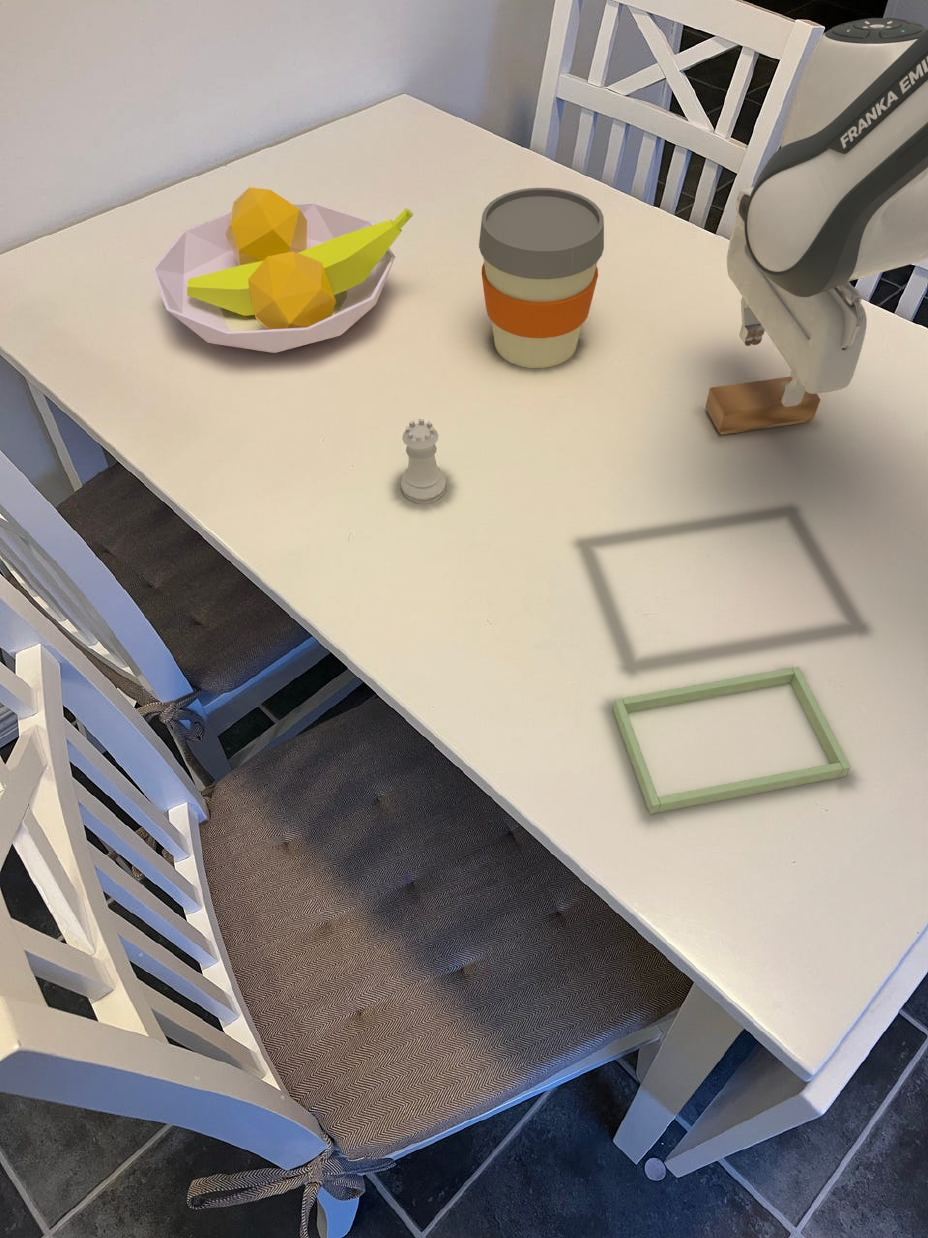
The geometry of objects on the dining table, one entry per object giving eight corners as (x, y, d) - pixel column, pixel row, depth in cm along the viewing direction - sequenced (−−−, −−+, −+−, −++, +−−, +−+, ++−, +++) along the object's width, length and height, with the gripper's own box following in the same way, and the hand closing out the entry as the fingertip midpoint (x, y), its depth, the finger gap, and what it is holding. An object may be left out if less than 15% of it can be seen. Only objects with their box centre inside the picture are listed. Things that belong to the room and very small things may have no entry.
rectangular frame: (792, 680, 74) (798, 666, 72) (842, 780, 68) (851, 767, 66) (611, 712, 72) (614, 699, 70) (648, 818, 66) (652, 805, 65)
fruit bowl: (129, 363, 100) (95, 269, 91) (226, 235, 116) (205, 145, 107) (372, 400, 96) (361, 305, 87) (437, 261, 112) (433, 169, 103)
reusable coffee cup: (513, 302, 106) (517, 175, 94) (610, 334, 102) (628, 205, 90) (458, 360, 100) (454, 230, 88) (559, 396, 96) (570, 266, 84)
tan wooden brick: (793, 403, 95) (803, 374, 92) (810, 428, 92) (820, 399, 89) (702, 416, 94) (709, 387, 91) (716, 442, 91) (724, 413, 88)
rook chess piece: (452, 481, 88) (450, 416, 82) (439, 513, 86) (436, 449, 79) (409, 473, 89) (403, 408, 83) (394, 504, 86) (388, 440, 80)
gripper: (904, 301, 71) (846, 436, 82) (796, 173, 83) (758, 306, 94) (829, 311, 70) (781, 446, 81) (731, 181, 82) (700, 313, 93)
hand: (768, 370), depth 88 cm, fingers open, 8 cm apart
